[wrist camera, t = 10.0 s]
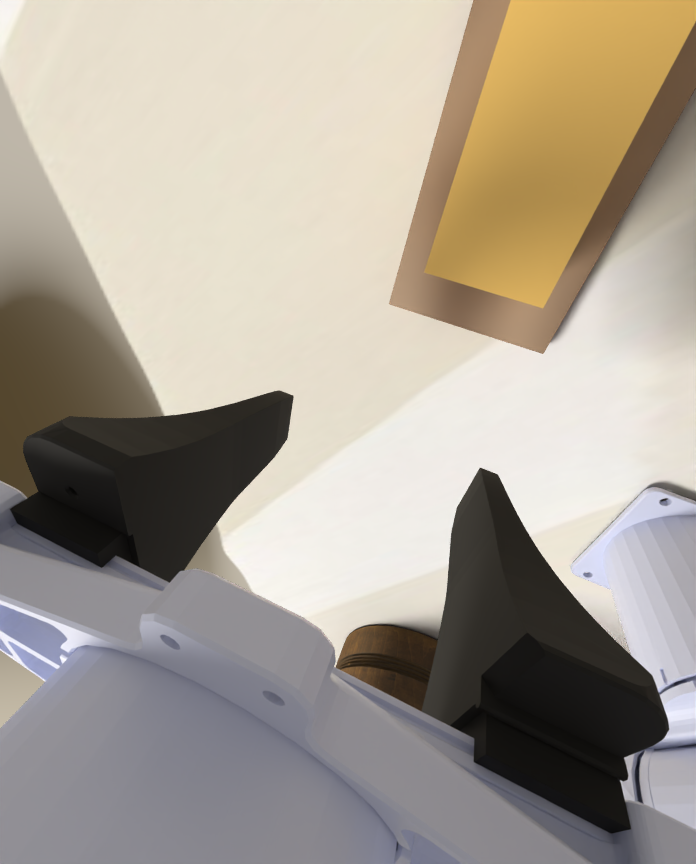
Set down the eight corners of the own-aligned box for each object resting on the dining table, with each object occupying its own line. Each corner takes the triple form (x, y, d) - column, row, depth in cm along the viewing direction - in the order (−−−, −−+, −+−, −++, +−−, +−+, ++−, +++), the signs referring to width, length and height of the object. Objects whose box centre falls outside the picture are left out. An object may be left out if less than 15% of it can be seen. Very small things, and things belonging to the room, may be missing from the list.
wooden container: (330, 611, 37) (179, 975, 19) (481, 640, 31) (465, 1202, 13) (359, 689, 44) (266, 1014, 26) (488, 725, 38) (484, 1178, 20)
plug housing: (683, -12, 11) (763, -108, 8) (533, 289, 16) (543, 308, 13) (535, -34, 12) (552, -131, 8) (437, 261, 17) (424, 272, 13)
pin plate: (800, -112, 10) (920, -242, 7) (540, 347, 18) (549, 372, 15) (518, -141, 11) (526, -260, 8) (393, 300, 19) (376, 314, 16)
